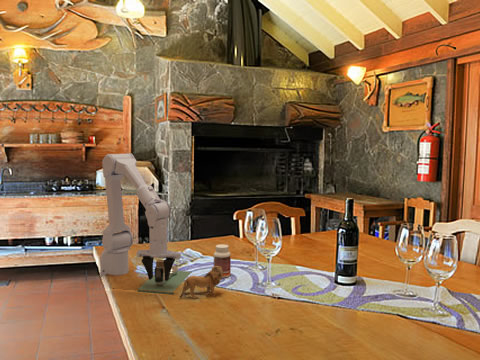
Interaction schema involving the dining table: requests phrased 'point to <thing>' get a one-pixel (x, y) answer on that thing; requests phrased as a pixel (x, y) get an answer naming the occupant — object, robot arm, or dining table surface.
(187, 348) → the dining table surface
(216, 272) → the lion figurine
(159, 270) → the lever
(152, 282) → the green flat rectangular slab
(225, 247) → the pill bottle
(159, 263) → the walnut block
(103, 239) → the robot arm
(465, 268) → the dining table surface
